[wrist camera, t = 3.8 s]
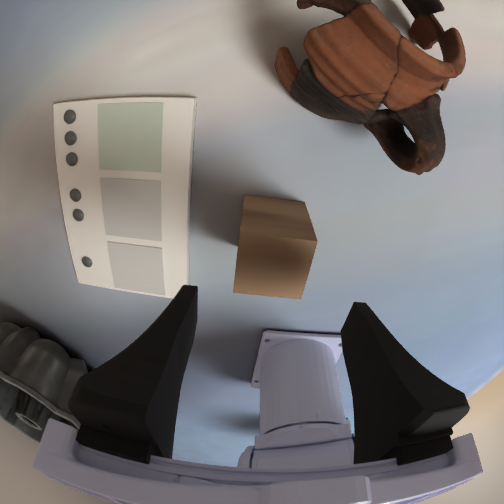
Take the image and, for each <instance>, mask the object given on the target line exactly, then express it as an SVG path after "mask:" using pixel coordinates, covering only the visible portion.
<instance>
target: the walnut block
mask: <svg viewBox="0 0 504 504" xmlns="http://www.w3.org/2000/svg"><path fill="white" fill-rule="evenodd" d="M316 245H317V238H316V235H315V232H314V229H313V226H312V223H311V220H310V217H309V214H308V211H307V208H306V205H305V202H298V201H291V200H284V199H276V198H268V197H260V196H252V195H244V200H243V208H242V217H241V226H240V234H239V243H238V252H237V261H236V270H235V279H234V289H233V293H242V294H251V295H261V296H271V297H282V298H293V299H301V298H302V294H303V291H304V288H305V284H306V281H307V277H308V274H309V270H310V267H311V263H312V259H313V256H314V252H315V248H316Z"/></svg>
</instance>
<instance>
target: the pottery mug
mask: <svg viewBox="0 0 504 504" xmlns="http://www.w3.org/2000/svg"><path fill="white" fill-rule="evenodd" d="M402 1H403V3H404V4H405V5H406V7H407V8H408V10H409V11H410V12H411V14H412V15H413V17H414V18H415V20H414V22H413V23H412V26H411V28H410V31H409V33H410V35H411V37H412V38H413V39H414V40H415V42H416V43H417V44H418V45H419V46H420V47H421V48H422V49H424V50H426V49H430V48H432V46H433V44H435V43H436V42H439V44H440V47H441V51H442V54H443V61H444V62H443V61H441V60H438V59H436V58H434V57H432V56H430V55H428V54H427V53H425V52H424V51H422V50H421V49H419V48H418V47H417V46H415V45H414V44H413V43H412V42H411V41H409V40H408V39H407V38H405V37H404V36H402V35H401V34H400V32H399V31H398V30H397V29H396V28H395V27H394V26H393V25H392V24H391V23H390V21H389V20H388V19H387V18H386V17H385V16H384V15H383V14H382V13H381V11H380V10H379V9H378V8H377V6H376V5H374V4H373V3H372V1H371V0H297V6H298V8H299V9H306V8H309V7H311V6H313V5H315V6H317V7H323V8H327V9H331V10H333V11H335V12H337V13H339V14H342V15H344V17H342V18H339V19H335V20H332V21H331V22H329V23H325V24H323V25H321V26H318V27H316V28H313V29H311V30H309V31H308V32H307V36H306V37H305V40H304V49H305V51H306V54H307V56H308V59H307V60H305V61H304V62H303V64H302V66H301V69H300V71H299V70H298V68H297V67H296V65H295V63H294V61H293V59H292V56H291V54H290V52H289V49H288V48H287V47H281V48H280V49H279V50H278V52H277V57H276V61H275V68H276V71H277V74H278V76H279V78H280V80H281V82H282V83H283V85H284V86H285V88H286V89H287V90H288V91H289V92H290V94H291V95H292V97H293V98H294V99H295V100H296V101H298V102H299V103H300V104H301V105H302V106H303V107H305V108H306V109H308V110H310V111H311V112H313V113H315V114H317V115H319V116H321V117H324V118H327V119H333V120H341V121H347V122H351V123H357V124H363V125H364V126H365V128H367V129H368V130H369V131H370V132H371V133H372V134H373V135H374V136H375V137H376V139H377V140H378V142H379V143H380V145H381V147H382V149H383V150H384V151H385V153H386V154H387V156H388V157H389V158H390V159H391V160H392V161H393V162H394V163H395V164H396V165H397V166H398V167H399V168H401V169H403V170H405V171H408V172H413V173H416V174H418V175H420V174H422V173H423V172H429V171H431V170H432V169H433V168H435V167H437V166H438V165H439V164H440V162H441V161H442V158H443V156H444V153H445V145H446V144H445V134H444V129H443V125H442V121H441V117H440V102H441V99H440V96H439V95H438V94H435V93H436V92H437V91H439V90H442V91H444V90H445V88H446V86H447V84H448V81H449V78H456V77H457V76H458V75H460V74H461V73H462V71H463V69H464V67H465V62H466V58H465V49H464V45H463V41H462V38H461V36H460V33H459V32H458V30H456V29H455V28H450V29H449V30H447V31H445V32H444V30H443V28H442V26H441V25H440V23H439V22H438V20H437V19H436V18H435V16H434V15H433V13H437V12H440V11H444V7H443V5H442V3H441V2H440V0H402ZM381 103H382V104H384V105H385V106H386V107H387V108H388V109H382V110H377V109H378V107H379V106H380V104H381ZM403 125H404V126H405V127H406V128H407V129H408V130H409V132H410V133H411V135H412V137H413V139H414V142H415V143H414V142H413V141H412V140H411V139H410V138H409V137H408V136H407V135H406V133H405V131H404V127H403Z"/></svg>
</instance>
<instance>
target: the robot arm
mask: <svg viewBox="0 0 504 504" xmlns="http://www.w3.org/2000/svg"><path fill="white" fill-rule="evenodd" d="M197 300H198V286H191V285H183V286H182V287H181V288H180V290H179V291H178V293H177V294H176V296H175V297H174V298H173V300H172V301H171V302H170V304H169V305H168V306H167V308H166V309H165V310H164V311H163V312H162V314H161V315H160V316H159V317H158V318H157V319H156V320H155V321H154V323H153V324H152V325H151V326H150V327H149V328H148V329H147V330H146V331H145V332H144V333H143V334H142V335H141V336H140V337H139V338H138V339H136V340H135V341H134V342H133V343H132V344H131V345H129V346H128V347H127V348H126V349H124V350H123V351H122V352H120V353H119V354H118V355H116V356H115V357H113V358H112V359H110V360H109V361H107V362H106V363H104V364H103V365H101V366H99V367H98V368H96V369H94V370H92V371H90V372H88V373H86V374H85V375H83V376H80V378H79V380H78V382H77V383H76V385H75V387H74V389H73V391H72V394H71V396H70V399H69V401H68V408H69V409H70V411H71V413H72V414H73V415H74V416H75V418H76V419H77V420H78V421H79V423H80V424H81V425H80V428H79V431H78V430H77V429H76V428H74V427H72V426H70V425H67V424H64V423H62V422H59V421H57V420H54V419H52V418H50V419H48V422H47V425H46V427H45V430H44V433H43V436H42V439H41V441H40V445H39V448H38V450H37V453H36V457H35V460H34V463H33V467H34V468H35V469H37V470H38V471H40V472H42V473H43V474H45V475H46V476H48V477H50V478H51V479H53V480H55V481H57V482H58V483H61V484H63V485H65V486H67V487H70V488H72V489H75V490H77V491H80V492H82V493H85V494H87V495H90V496H93V497H96V498H98V499H101V500H104V501H107V502H110V503H113V504H413V503H416V502H419V501H422V500H425V499H428V498H431V497H434V496H436V495H439V494H442V493H444V492H447V491H449V490H451V489H454V488H456V487H458V486H460V485H462V484H464V483H466V482H467V481H469V480H471V479H473V478H475V477H477V476H478V475H480V474H482V473H483V469H482V466H481V462H480V459H479V455H478V452H477V448H476V445H475V442H474V438H473V435H472V433H469V434H466V435H463V436H460V437H457V438H455V439H453V440H451V438H450V435H452V434H453V430H452V427H453V426H454V425H455V424H456V423H458V422H459V421H460V420H461V419H462V418H463V417H464V416H465V415H466V414H467V413H468V411H469V409H470V407H469V404H468V402H467V399H466V396H465V394H464V393H463V392H461V391H459V390H457V389H455V388H454V387H452V386H450V385H448V384H447V383H445V382H444V381H442V380H441V379H439V378H438V377H436V376H435V375H434V374H432V373H431V372H430V371H429V370H427V369H426V368H425V367H424V366H422V365H421V364H420V363H419V362H418V361H417V360H416V359H415V358H414V357H412V356H411V355H410V354H409V353H408V352H407V351H406V350H405V349H404V348H403V346H402V345H401V344H400V343H399V342H398V341H397V340H396V339H395V338H394V336H393V335H392V334H391V333H390V332H389V331H388V329H387V328H386V327H385V326H384V325H383V323H382V322H381V321H380V320H379V318H378V317H377V316H376V315H375V313H374V312H373V311H372V310H371V309H370V307H369V306H368V305H367V304H366V303H361V302H354V303H353V305H352V308H351V310H350V312H349V314H348V317H347V319H346V321H345V323H344V325H343V327H342V329H341V335H328V334H310V333H296V332H282V331H270V330H267V331H264V332H263V334H262V338H261V343H260V347H259V351H258V356H257V360H256V364H255V368H254V372H253V377H252V381H251V387H253V388H260V435H256V436H255V446H249V447H247V448H246V449H245V451H244V452H243V453H242V454H241V456H240V458H239V461H238V466H237V467H227V466H217V465H208V464H200V463H193V462H186V461H180V460H174V459H172V452H173V442H174V433H175V424H176V417H177V409H178V402H179V396H180V390H181V384H182V380H183V376H184V372H185V369H186V365H187V362H188V358H189V355H190V351H191V347H192V344H193V340H194V336H195V330H196V324H197ZM342 351H343V355H344V359H345V364H346V368H347V372H348V377H349V381H350V386H351V391H352V397H353V408H354V428H355V433H352V434H351V428H350V424H349V423H348V424H346V418H345V412H344V406H343V401H342V395H341V389H340V384H339V378H338V373H337V368H336V362H337V360H338V358H339V357H340V355H341V353H342ZM217 484H228V485H237V486H217Z"/></svg>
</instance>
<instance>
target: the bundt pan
mask: <svg viewBox="0 0 504 504" xmlns="http://www.w3.org/2000/svg"><path fill="white" fill-rule="evenodd" d="M86 373H88V370H87V367H86V364H85V362H84V361H83V360H81V359H76V358H70V357H69V355H68V353H67V352H66V350H65V349H64V348H63V347H62V346H61V345H59V344H58V343H56V342H54V341H52V340H48V339H41V337H40V335H39V334H38V332H37V331H36V330H35V329H33V328H31V327H25V328H21V327H19V326H17V325H15V324H13V323H8V322H1V323H0V418H2V420H4V421H5V422H7V423H8V424H10V425H12V426H13V427H14V428H16V429H17V430H18V431H20V432H21V433H23V434H24V435H26V436H28V437H29V438H31V439H33V440H34V441H36V442H38V443H40V441H41V439H42V436H43V433H44V430H45V427H46V425H47V422H48V419H50V418H52V419H54V420H57V421H59V422H62V423H64V424H67V425H70V426H72V427H74V428H76V429H77V430H78V431H79V428H80V425H81V424H80V423H79V421H78V420H77V419H76V418H75V416H74V415H73V414H72V413H71V411H70V409H69V408H68V401H69V399H70V396H71V394H72V391H73V389H74V387H75V385H76V383H77V382H78V380H79V378H80V376H83V375H85V374H86Z"/></svg>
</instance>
